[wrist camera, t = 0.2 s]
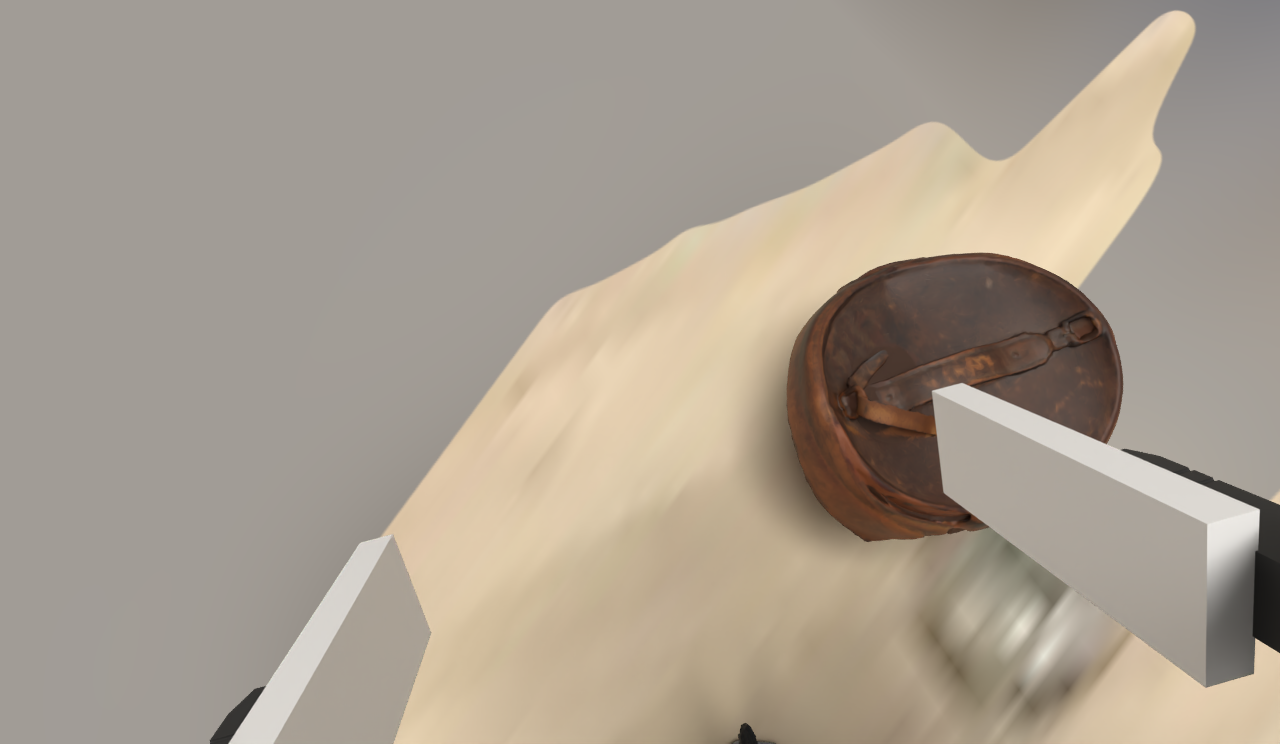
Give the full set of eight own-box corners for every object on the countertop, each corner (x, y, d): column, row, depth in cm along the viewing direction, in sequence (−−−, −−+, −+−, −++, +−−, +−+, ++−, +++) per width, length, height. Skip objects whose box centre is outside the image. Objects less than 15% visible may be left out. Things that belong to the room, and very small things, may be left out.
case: (711, 473, 51) (734, 410, 34) (837, 296, 56) (911, 165, 39) (907, 612, 46) (1045, 620, 30) (1023, 407, 51) (1197, 314, 35)
